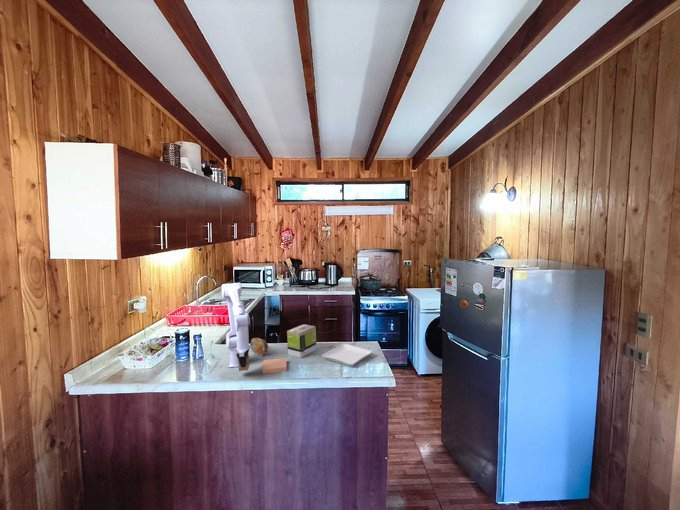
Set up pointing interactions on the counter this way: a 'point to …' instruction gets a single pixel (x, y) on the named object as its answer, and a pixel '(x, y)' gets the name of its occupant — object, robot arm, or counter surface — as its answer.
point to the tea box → (301, 340)
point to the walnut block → (246, 365)
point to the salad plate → (347, 354)
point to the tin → (259, 346)
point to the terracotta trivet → (274, 365)
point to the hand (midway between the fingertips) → (243, 365)
